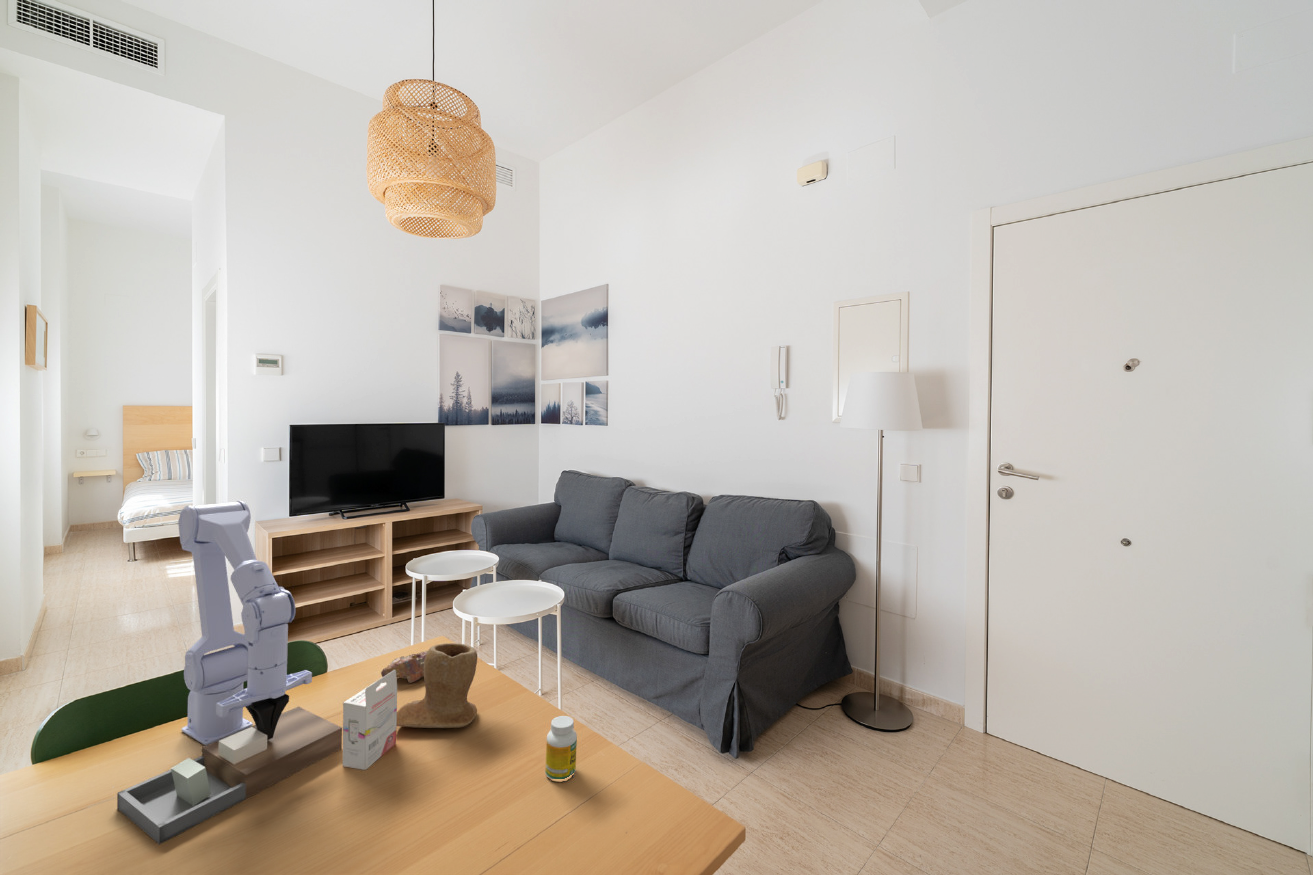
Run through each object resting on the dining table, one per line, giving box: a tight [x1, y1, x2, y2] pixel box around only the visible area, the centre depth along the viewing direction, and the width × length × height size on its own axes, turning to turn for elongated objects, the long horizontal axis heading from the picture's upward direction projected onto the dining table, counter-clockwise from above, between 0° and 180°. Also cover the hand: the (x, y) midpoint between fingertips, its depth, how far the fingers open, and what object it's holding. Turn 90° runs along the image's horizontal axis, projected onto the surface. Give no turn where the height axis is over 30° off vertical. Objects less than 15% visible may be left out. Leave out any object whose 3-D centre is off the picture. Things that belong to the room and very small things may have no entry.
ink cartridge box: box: [342, 670, 398, 771], centre depth 101 cm, size 9×5×15 cm, turn 168°
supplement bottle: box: [545, 715, 578, 779], centre depth 99 cm, size 5×5×10 cm
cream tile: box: [218, 727, 267, 764], centre depth 95 cm, size 5×5×2 cm
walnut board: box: [201, 706, 343, 800], centre depth 99 cm, size 14×16×4 cm
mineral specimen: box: [380, 650, 428, 684], centre depth 132 cm, size 12×8×7 cm, turn 163°
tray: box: [116, 755, 246, 845], centre depth 87 cm, size 14×11×2 cm
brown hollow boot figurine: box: [396, 642, 478, 729], centre depth 114 cm, size 15×12×15 cm
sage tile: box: [170, 757, 211, 806], centre depth 88 cm, size 5×5×2 cm
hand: (266, 737), depth 98 cm, fingers closed
